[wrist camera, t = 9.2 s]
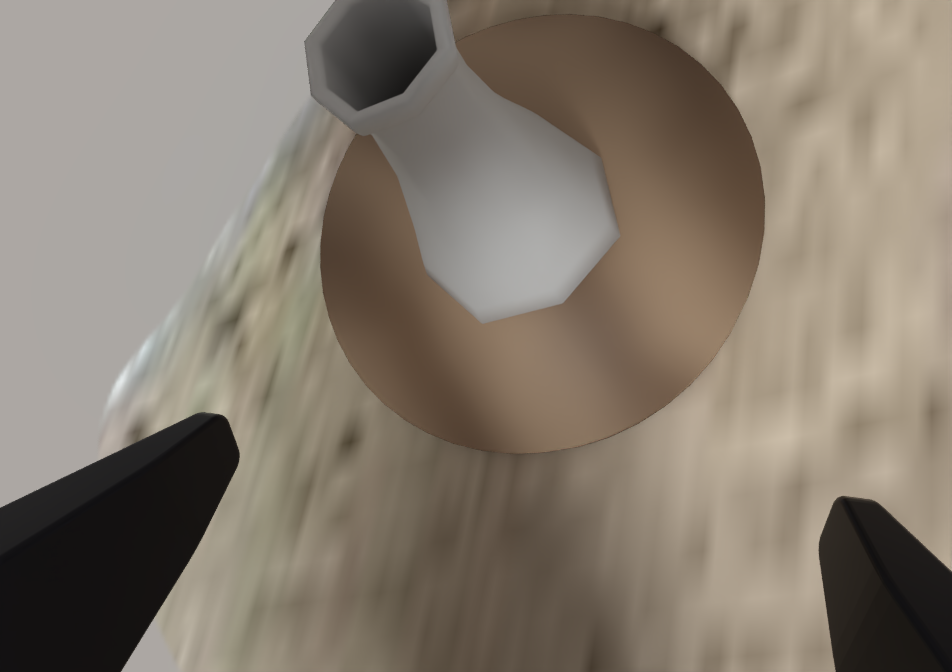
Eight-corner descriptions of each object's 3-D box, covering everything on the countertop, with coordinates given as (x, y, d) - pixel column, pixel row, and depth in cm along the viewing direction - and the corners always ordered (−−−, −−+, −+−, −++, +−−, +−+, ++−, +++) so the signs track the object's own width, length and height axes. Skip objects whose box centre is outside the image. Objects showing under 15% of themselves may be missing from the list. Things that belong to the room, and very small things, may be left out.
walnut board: (519, 551, 20) (510, 558, 19) (271, 257, 25) (252, 249, 24) (878, 200, 18) (891, 185, 17) (525, -35, 23) (517, -58, 22)
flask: (390, 201, 22) (181, 34, 13) (550, 86, 21) (444, -195, 12) (475, 360, 20) (297, 297, 11) (660, 245, 19) (640, 56, 9)
